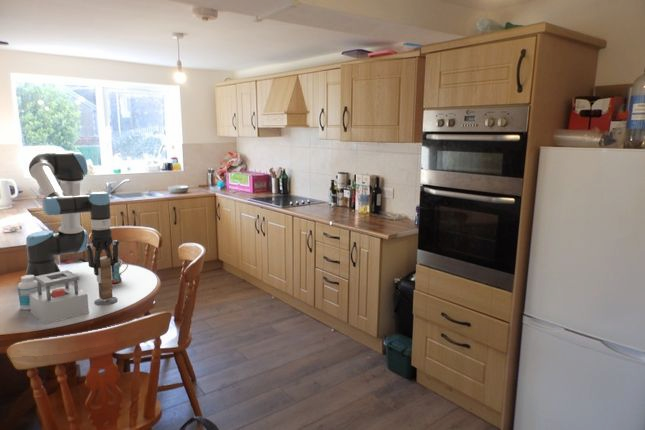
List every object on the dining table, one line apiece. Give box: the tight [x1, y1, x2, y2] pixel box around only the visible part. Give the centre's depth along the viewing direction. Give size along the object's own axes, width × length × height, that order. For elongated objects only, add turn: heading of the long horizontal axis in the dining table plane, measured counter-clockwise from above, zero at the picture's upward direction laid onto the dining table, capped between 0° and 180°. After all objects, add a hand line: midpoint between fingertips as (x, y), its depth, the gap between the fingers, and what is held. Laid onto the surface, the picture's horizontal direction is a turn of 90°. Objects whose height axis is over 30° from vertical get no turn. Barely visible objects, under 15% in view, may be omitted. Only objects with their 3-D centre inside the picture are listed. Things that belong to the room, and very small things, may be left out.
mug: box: [112, 258, 129, 284], centre depth 214 cm, size 12×9×11 cm
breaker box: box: [29, 269, 90, 325], centre depth 174 cm, size 16×16×16 cm
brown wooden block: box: [97, 255, 114, 300], centre depth 187 cm, size 4×4×18 cm
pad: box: [94, 296, 118, 306], centre depth 188 cm, size 9×9×1 cm
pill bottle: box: [17, 275, 38, 311], centre depth 179 cm, size 8×7×14 cm
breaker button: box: [52, 288, 65, 298], centre depth 175 cm, size 4×4×8 cm
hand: (104, 280), depth 187 cm, fingers closed on brown wooden block, 4 cm apart
